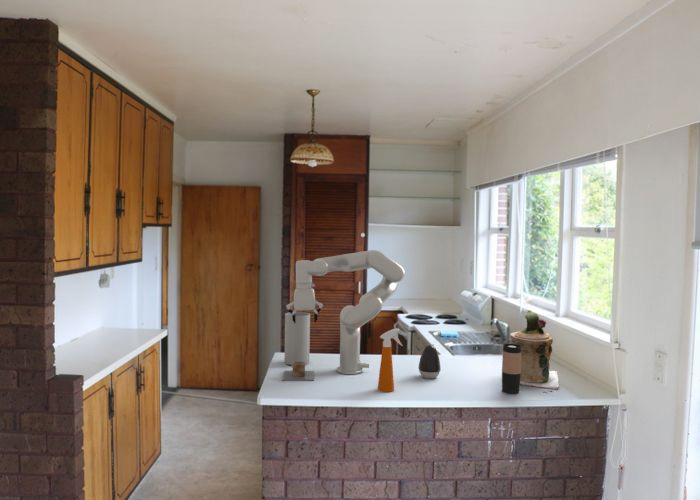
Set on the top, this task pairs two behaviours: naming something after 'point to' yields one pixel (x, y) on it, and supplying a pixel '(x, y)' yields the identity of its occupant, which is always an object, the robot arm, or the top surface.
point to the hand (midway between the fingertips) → (305, 322)
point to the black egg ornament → (429, 362)
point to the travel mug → (511, 368)
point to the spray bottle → (387, 362)
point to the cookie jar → (535, 353)
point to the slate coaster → (289, 377)
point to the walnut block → (298, 369)
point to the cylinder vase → (297, 338)
